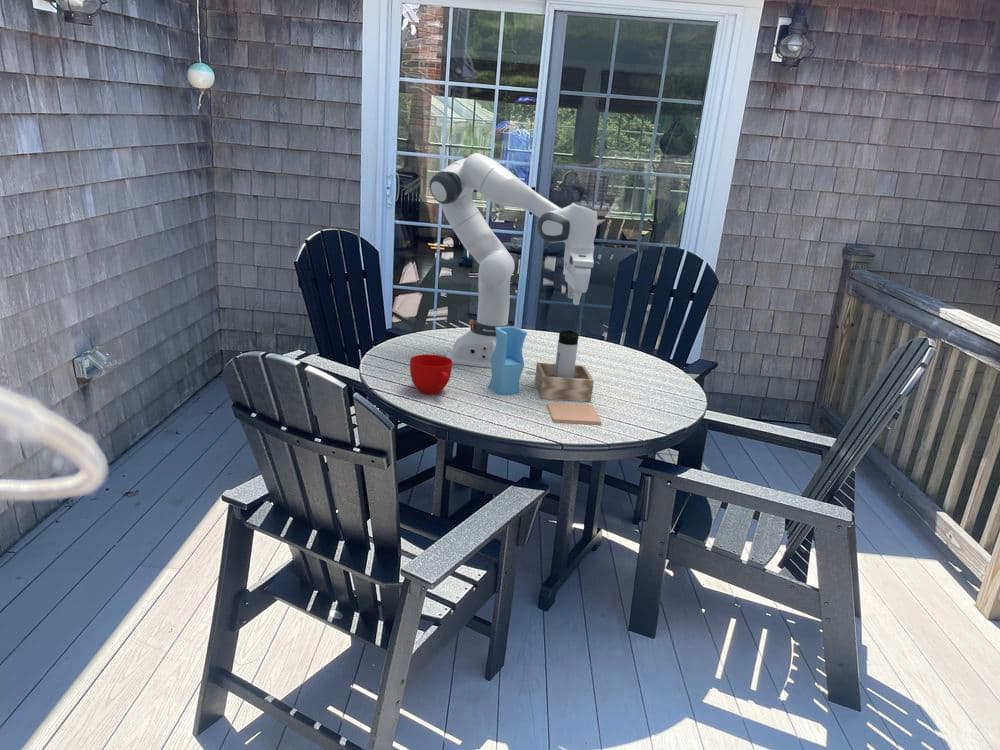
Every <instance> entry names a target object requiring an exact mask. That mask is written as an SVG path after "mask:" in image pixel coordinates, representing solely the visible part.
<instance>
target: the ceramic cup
mask: <svg viewBox="0 0 1000 750" xmlns="http://www.w3.org/2000/svg"><path fill="white" fill-rule="evenodd" d="M452 368H453V363H452V360H451V359H449V358H447V357H446V356H444V355H439V354H431V353H430V354H416V355H413V356H412V357H411V358H410V359H409V373H410V378H411V380H412V383H413V386H414V387H415V388H416V389H417V390H418V392H419V393H420V394H423V395H429V396H430V395H438V394H440V393H441V392H442V391H443V390H444V389H445V388H446V386H447V385H448V383H449V381H450V378H451V374H452V371H453V370H452Z"/></svg>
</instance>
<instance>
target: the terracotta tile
mask: <svg viewBox="0 0 1000 750" xmlns="http://www.w3.org/2000/svg"><path fill="white" fill-rule="evenodd" d="M546 407H547V410H548V412H549V414H550V417H551V419H552V422H553V423H558V424H560V423H562V424H574V425H575V424H577V425H596V426H602V423H603V422H602V420H601V418H600V416H599V414H598V413H597V412H596V410H595V407H594V405H592V404H581V403H579V404H578V403H565V402H564V403H562V402H546Z"/></svg>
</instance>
